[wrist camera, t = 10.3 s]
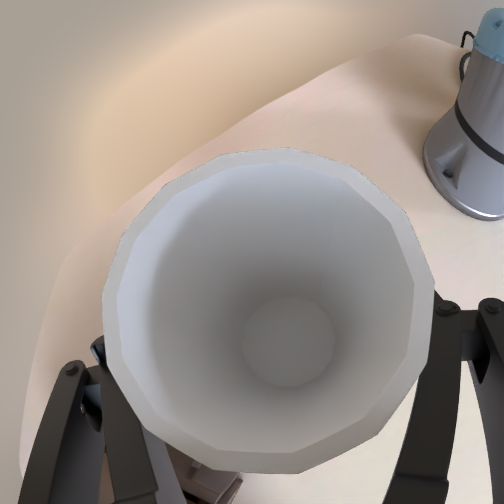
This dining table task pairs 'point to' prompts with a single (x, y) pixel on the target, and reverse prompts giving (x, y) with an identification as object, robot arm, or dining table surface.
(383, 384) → the foam cup
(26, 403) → the dining table surface
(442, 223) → the dining table surface
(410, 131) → the dining table surface
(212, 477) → the drawer
